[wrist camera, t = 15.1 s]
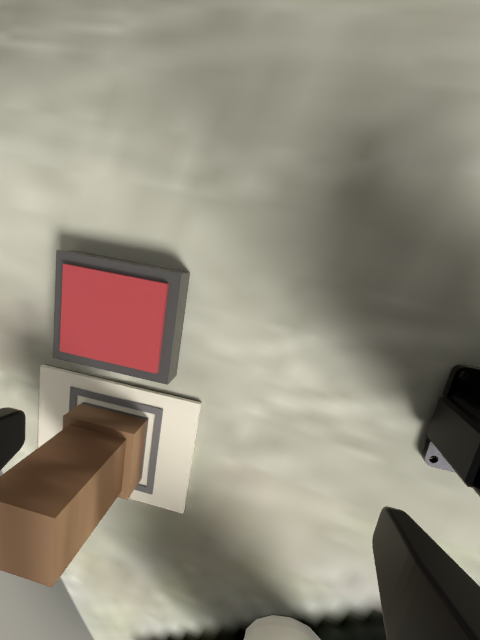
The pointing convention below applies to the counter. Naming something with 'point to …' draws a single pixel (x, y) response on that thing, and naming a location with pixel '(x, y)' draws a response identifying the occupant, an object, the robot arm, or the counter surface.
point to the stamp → (68, 489)
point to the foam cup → (279, 629)
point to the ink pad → (119, 315)
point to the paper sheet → (162, 410)
